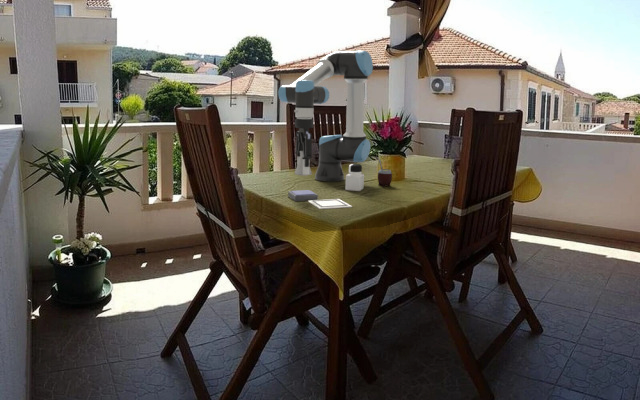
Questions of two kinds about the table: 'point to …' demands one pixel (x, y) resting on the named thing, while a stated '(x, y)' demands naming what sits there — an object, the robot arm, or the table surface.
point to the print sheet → (329, 204)
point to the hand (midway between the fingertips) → (303, 172)
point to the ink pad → (302, 195)
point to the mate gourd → (384, 176)
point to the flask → (301, 166)
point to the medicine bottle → (355, 178)
